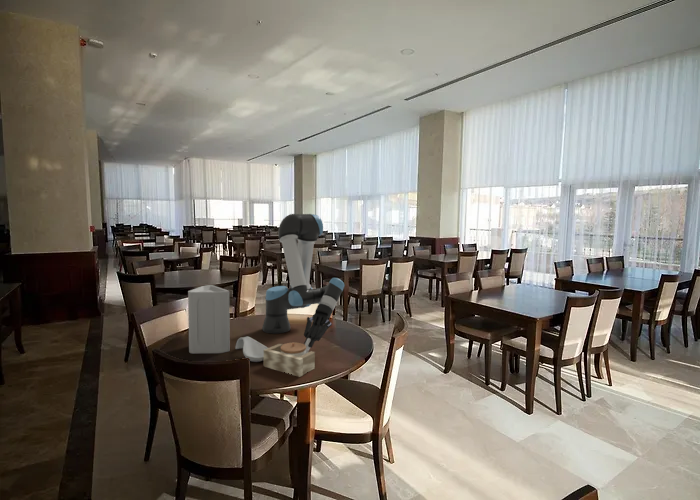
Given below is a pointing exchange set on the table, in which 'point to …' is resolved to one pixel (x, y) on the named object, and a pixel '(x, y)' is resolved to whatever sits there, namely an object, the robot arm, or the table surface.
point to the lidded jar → (294, 349)
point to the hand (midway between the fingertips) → (304, 352)
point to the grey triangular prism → (209, 320)
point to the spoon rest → (251, 348)
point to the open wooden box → (288, 361)
